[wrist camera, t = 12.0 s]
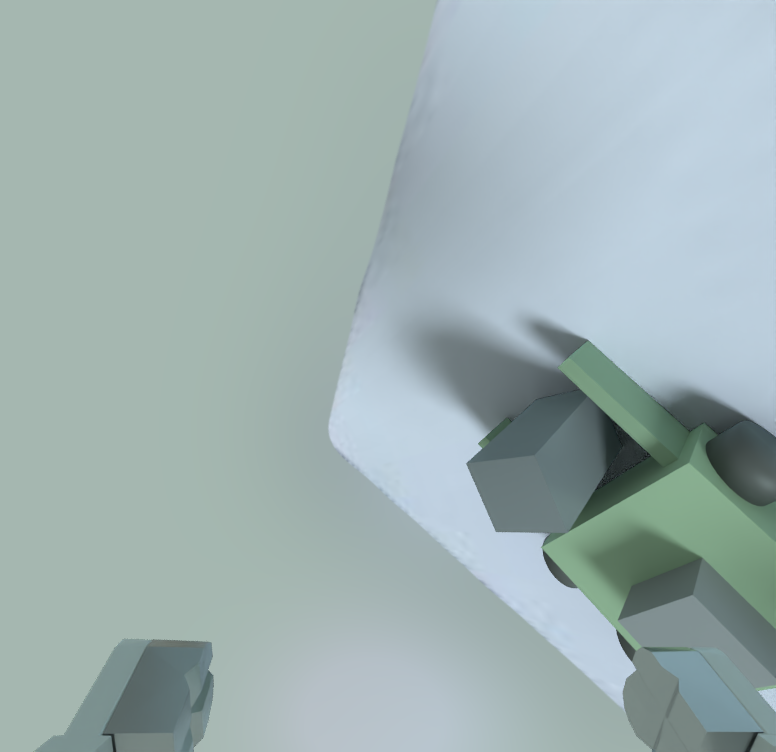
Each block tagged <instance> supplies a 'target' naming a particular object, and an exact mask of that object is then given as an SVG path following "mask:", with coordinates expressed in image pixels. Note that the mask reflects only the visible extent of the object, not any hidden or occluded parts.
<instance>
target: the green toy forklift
mask: <svg viewBox="0 0 776 752" xmlns="http://www.w3.org/2000/svg"><path fill="white" fill-rule="evenodd" d="M558 369H560V370H561V371H562V372H563V373H564V374H565V375H566V376H567V377H568V378H569V379H570V380H571V381H572V382H573V383H574V384H575V385H577V386H578V387H579V388H580V389H581V390H582V391H583V392H584V393H585V394H586V395H587V396H588V397H589V398H590V399H591V400H592V401H594V402H595V403H596V404H597V405H598V406H599V407H600V408H601V409H602V410H603V411H604V412H605V413H606V414H607V415H608V416H609V417H611V418H612V419H613V420H614V421H615V422H616V423H617V424H618V425H619V426H620V427H621V428H622V429H623V430H624V431H625V432H626V433H628V434H629V435H630V436H631V437H632V438H633V439H634V440H635V441H636V442H637V443H638V444H639V445H640V446H641V447H642V448H643V449H645V450H646V451H647V452H648V453H649V454H650V455H651V456H650V457H649V458H647V459H646V460H644V461H642V462H641V463H639V464H638V465H636V466H634V467H633V468H631V469H630V470H628V471H626V472H625V473H623V474H622V475H620V476H618V477H617V478H615V479H614V480H612V481H610V482H609V483H607V484H606V485H604V486H602V487H601V488H599V489H598V490H596V491H594V492H593V494H592V495H591V497H590V498H589V500H588V502H587V503H586V505H585V506H584V508H583V510H582V511H581V513H580V514H579V516H578V518H577V519H576V521H575V522H574V524H573V526H572V527H571V529H570V530H569V532H568V533H551V534H550V535H549V536H547V537H546V539H545V540H544V543H543V546H542V547H541V548H542V549H543V556H544V559H545V562H546V564H547V566H548V568H549V570H550V571H551V573H552V574H553V575H554V577H555V578H556V579H557V580H558V581H560V582H561V583H562V584H564V585H565V586H568V587H570V588H579V589H580V590H581V591H582V592H583V594H584V595H585V596H586V597H587V598H588V599H589V600H590V601H591V602H592V603H593V604H594V605H595V607H596V608H597V609H598V610H599V611H600V612H601V613H602V614H603V615H604V616H605V617H606V619H607V620H608V621H609V622H610V623H611V624H612V625H613V626H614V627H615V628H616V631H617V636H618V639H619V642H620V644H621V646H622V648H623V650H624V652H625V653H626V655H627V656H628V658H629V659H630V660H631V661H632V660H633V657H634V655H635V652H636V651H637V650H638V649H640V648H641V647H688V648H691V647H695V648H717V649H719V650H720V651H722V652H723V653H724V654H726V655H727V657H728V658H729V659H730V660H731V661H732V662H733V663H734V665H735V666H736V667H737V668H738V669H739V670H740V672H741V673H742V674H743V675H744V676H745V677H746V679H747V680H748V681H749V682H750V683H751V684H752V685H753V687H754V688H755V689H756V690H757V691H760V690H766V689H772V688H776V437H774V436H773V435H772V434H771V433H769V432H768V431H767V430H765V429H764V428H762V427H761V426H759V425H757V424H755V423H753V422H750V421H741V422H740V423H738V424H736V425H735V426H733V427H731V428H730V429H728V430H726V431H725V432H723V433H721V434H719V435H718V434H716V433H715V432H714V431H713V430H712V429H711V428H710V427H708V426H707V425H706V424H705V423H703V424H701V425H700V426H698V427H697V428H695V429H693V430H692V431H690V432H689V431H688V430H687V429H686V428H685V427H684V426H683V425H682V424H681V423H679V422H678V421H677V420H676V419H675V418H674V417H673V416H672V415H671V414H669V413H668V412H667V411H666V410H665V409H664V408H663V407H662V406H661V405H659V404H658V403H657V402H656V401H655V400H654V399H653V398H652V397H651V396H649V395H648V394H647V393H646V392H645V391H644V390H643V389H642V388H641V387H639V386H638V385H637V384H636V383H635V382H634V381H633V380H632V379H631V378H629V377H628V376H627V375H626V374H625V373H624V372H623V371H622V370H621V369H619V368H618V367H617V366H616V365H615V364H614V363H613V362H612V361H611V360H609V359H608V358H607V357H606V356H605V355H604V354H603V353H602V352H601V351H599V350H598V349H597V348H596V347H595V346H594V345H593V344H592V343H591V342H589V341H587V342H586V343H584V344H583V345H582V346H581V347H580V348H579V349H577V350H576V351H575V352H574V353H573V354H572V355H570V356H569V357H568V358H567V359H566V360H565V361H564V362H563V363H562V364H561V365H560V366H559V367H558ZM510 423H511V421H510V420H509V419H508V418H506V419H505V420H504V421H503V422H501V423H500V424H499V425H498V426H497V427H496V428H495V429H494V430H492V431H491V432H490V433H489V434H488V435H487V436H486V437H485V438H484V439H482V440H481V441H480V442H479V443H478V444H479V445H480V446H481V447H482V449H483V448H484V447H485V446H486V445H487V444H488V443H489V442H490V441H491V440H493V439H494V438H495V437H496V436H497V435H498V434H499V433H500V432H501V431H502V430H504V429H505V428H506V427H507V426H508V425H509V424H510Z"/></svg>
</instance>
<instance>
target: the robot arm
mask: <svg viewBox="0 0 776 752" xmlns="http://www.w3.org/2000/svg"><path fill="white" fill-rule="evenodd" d="M212 657H213V655H212V643H211V642H200V641H178V640H154V639H153V640H145V639H123V640H122V641H121V642H120V643H119V644H118V645H117V646H116V647H115V648H114V650H113V651H112V653H111V655H110V657H109V658H108V660H107V662H106V664H105V665H104V667H103V669H102V670H101V672H100V674H99V676H98V677H97V679H96V681H95V682H94V684H93V686H92V688H91V689H90V691H89V693H88V695H87V696H86V698H85V699H84V701H83V703H82V705H81V706H80V708H79V710H78V712H77V713H76V715H75V717H74V718H73V720H72V722H71V724H70V725H69V727H68V729H67V731H66V732H65V734H64V735H61V736H60V735H59V736H53V737H51V738H50V739H49V740H48V741H46V742H45V743H44V744H43V745H41V746H40V747H39V748H38V749H36V750H35V751H34V752H194V747H195V746H196V745H197V744H198V743H199V742H200V741H201V739H203V737H204V733H205V730H206V727H207V723H208V720H209V715H210V710H211V705H212V698H213V687H214V683H213V682H214V680H213V675H212V674H211V673H210V671H209V670H208V669H209V666H210V663H211V660H212ZM632 662H633V664H634V666H635V668H636V671H635V672H634V673H633V674H631V675H630V676H629V677H628V678H627V679H626V682H625V686H624V689H623V699H624V708H625V711H626V714H627V717H628V720H629V722H630V724H631V726H632V728H633V730H634V732H635V734H636V736H637V737H638V738H639V739H641V740H642V741H643V742H644V743H645V744H646V745H648V746H649V747H650V748H651V749H652V752H776V712H775V711H774V710H773V709H772V708H771V706H770V705H769V704H768V703H767V702H766V701H765V699H764V698H763V697H762V696H761V695H760V694H759V692H758V691H757V690H756V689H755V688H754V687H753V685H752V684H751V683H750V682H749V681H748V680H747V679H746V677H745V676H744V675H743V674H742V673H741V672H740V670H739V669H738V668H737V667H736V666H735V665H734V663H733V662H732V661H731V660H730V659H729V658H728V657H727V655H726V654H724V653H723V652H722V651H720V650H719V649H717V648H695V647H691V648H688V647H641V648H640V649H638V650H637V651H636V652H635V655H634V657H633V660H632Z"/></svg>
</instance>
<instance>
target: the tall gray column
mask: <svg viewBox="0 0 776 752" xmlns="http://www.w3.org/2000/svg"><path fill="white" fill-rule="evenodd" d="M621 448H622V446H621V444H620V441H619V439H618V436H617V434H616V431H615V429H614V426H613V424H612V421H611V419H610V417H609V416H608V415H607V414H606V413H605V412H604V411H603V410H602V409H601V408H600V407H599V406H598V405H597V404H596V403H595V402H594V401H592V400H591V399H590V398H589V397H588V396H587V395H586V394H585V393H584V392H583V391H582V390H576V391H572V392H567V393H563V394H558V395H554V396H549V397H544V398H540V399H536V400H535V401H534V402H533V403H532V404H531V405H530V406H529V407H528V408H527V409H525V410H524V411H523V412H522V413H521V414H520V415H519V416H518V417H517V418H516V419H514V420H513V421H512V422H511V423H510V424H509V425H508V426H507V427H506V428H505V429H504V430H502V431H501V432H500V433H499V434H498V435H497V436H496V437H495V438H494V439H493V440H491V441H490V442H489V443H488V444H487V445H486V446H485V447H484V448H483V449H482V450H481V451H479V452H478V453H477V454H476V455H475V456H474V457H473V458H472V459H471V460H470V461H468V462H467V463H466V464H467V466H468V469H469V471H470V473H471V476H472V478H473V480H474V482H475V485H476V487H477V489H478V492H479V494H480V496H481V499H482V501H483V503H484V505H485V508H486V510H487V512H488V515H489V517H490V519H491V521H492V524H493V526H494V528H495V531H496V532H531V533H568V532H569V530H570V529H571V527H572V526H573V524H574V522H575V521H576V519H577V518H578V516H579V514H580V513H581V511H582V510H583V508H584V506H585V505H586V503H587V502H588V500H589V498H590V497H591V495H592V494H593V492H594V491H595V489H596V487H597V486H598V484H599V483H600V481H601V479H602V478H603V476H604V475H605V473H606V471H607V470H608V468H609V467H610V465H611V463H612V462H613V460H614V459H615V457H616V456H617V454H618V452H619V451H620V449H621Z"/></svg>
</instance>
